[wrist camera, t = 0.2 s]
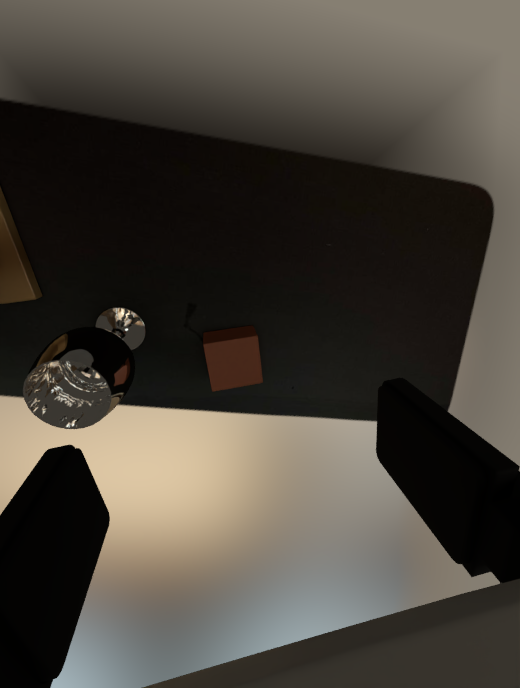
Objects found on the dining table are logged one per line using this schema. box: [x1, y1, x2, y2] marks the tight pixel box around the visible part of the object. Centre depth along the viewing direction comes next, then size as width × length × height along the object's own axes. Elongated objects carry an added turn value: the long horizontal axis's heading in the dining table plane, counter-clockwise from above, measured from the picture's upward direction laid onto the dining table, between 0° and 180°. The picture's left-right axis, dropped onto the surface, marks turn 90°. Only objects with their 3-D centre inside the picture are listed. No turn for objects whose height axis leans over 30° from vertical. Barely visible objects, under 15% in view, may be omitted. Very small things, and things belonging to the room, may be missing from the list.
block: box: [203, 325, 263, 391], centre depth 30 cm, size 5×5×3 cm
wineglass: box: [23, 307, 146, 429], centre depth 23 cm, size 6×6×12 cm
